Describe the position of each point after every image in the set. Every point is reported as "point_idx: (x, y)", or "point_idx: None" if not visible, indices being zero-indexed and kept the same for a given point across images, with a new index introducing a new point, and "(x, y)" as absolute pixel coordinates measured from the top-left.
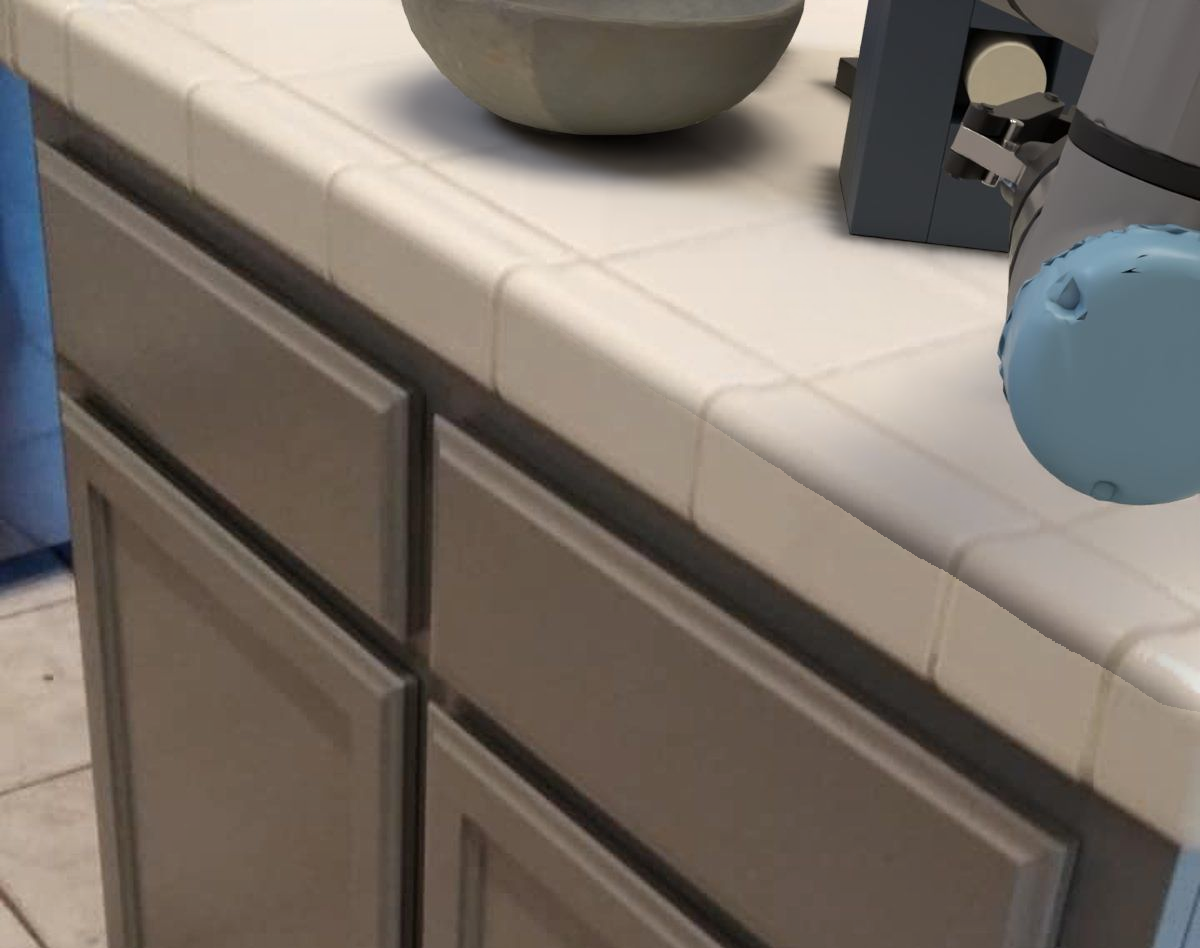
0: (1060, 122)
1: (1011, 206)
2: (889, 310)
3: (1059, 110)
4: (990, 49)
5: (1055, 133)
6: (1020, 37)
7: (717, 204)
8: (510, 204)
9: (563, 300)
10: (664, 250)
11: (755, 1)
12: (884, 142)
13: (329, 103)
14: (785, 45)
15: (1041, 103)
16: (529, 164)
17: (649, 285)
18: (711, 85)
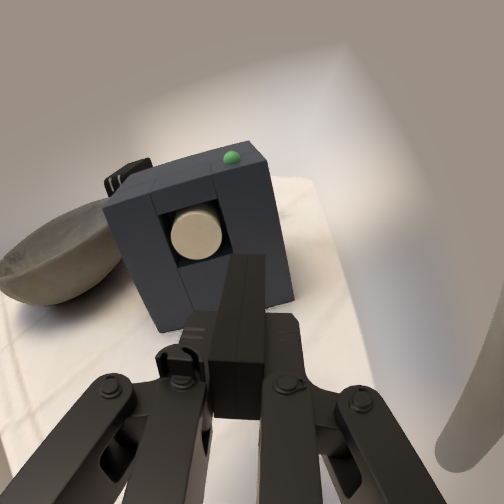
0: (136, 420)
1: None
2: None
3: (116, 421)
4: (175, 223)
5: (141, 428)
6: (196, 205)
7: (103, 330)
8: (23, 365)
9: (10, 460)
10: (64, 390)
11: None
12: (148, 290)
13: (9, 310)
14: None
15: (66, 450)
16: (44, 327)
17: (46, 434)
18: (86, 272)
